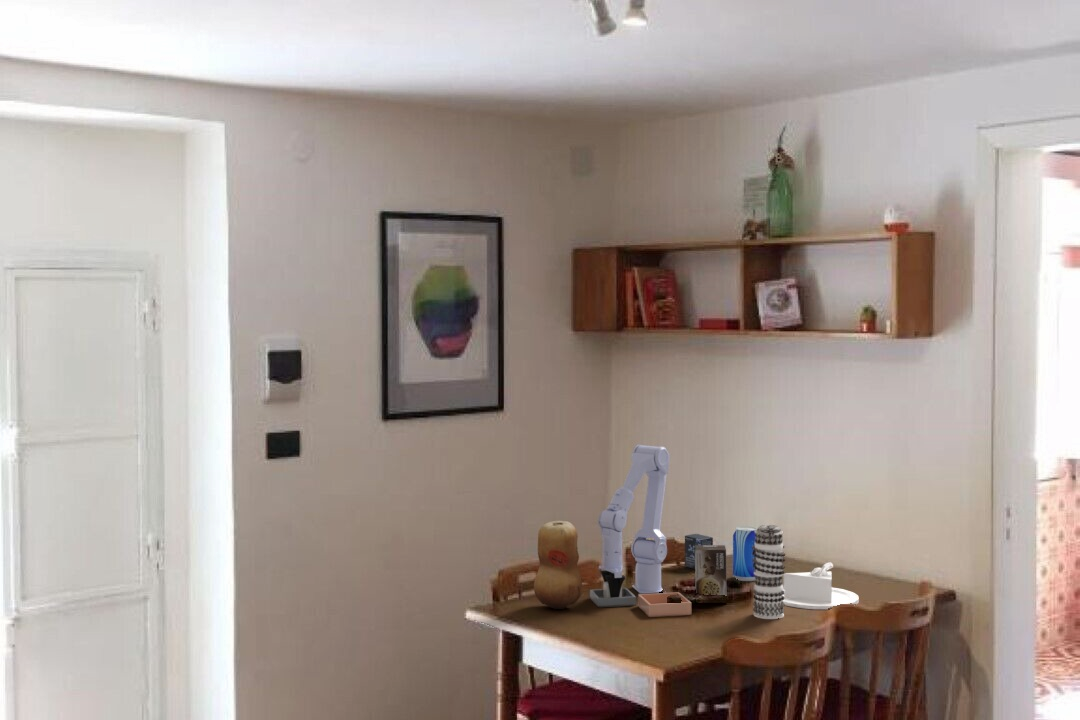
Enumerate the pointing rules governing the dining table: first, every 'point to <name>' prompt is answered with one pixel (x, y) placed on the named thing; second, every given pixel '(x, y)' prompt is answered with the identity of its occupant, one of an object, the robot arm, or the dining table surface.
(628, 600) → the tray
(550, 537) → the butternut squash
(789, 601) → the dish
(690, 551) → the box
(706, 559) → the coffee box
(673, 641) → the dining table surface
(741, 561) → the beer can
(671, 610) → the bin
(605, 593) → the white cube
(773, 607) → the decorative candle
